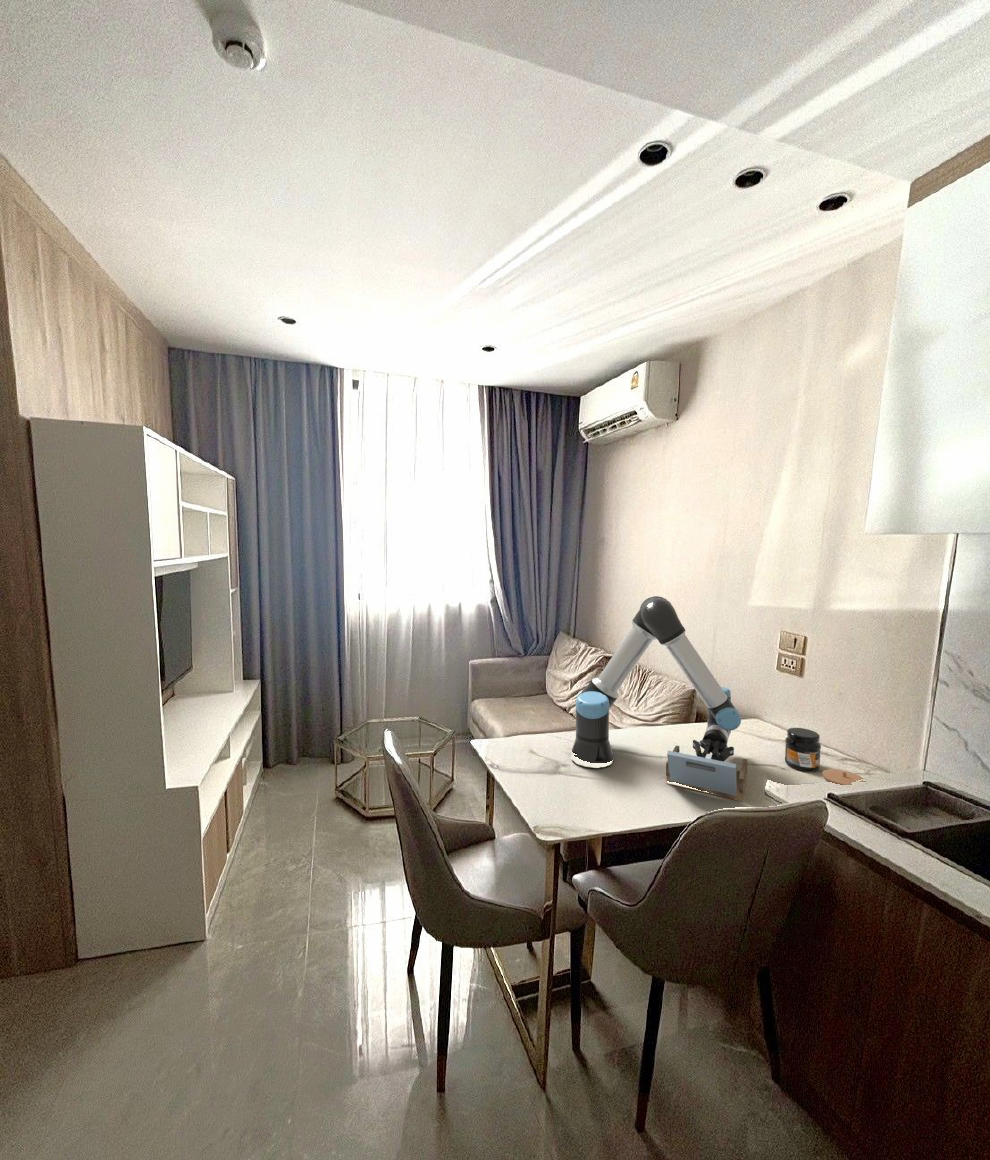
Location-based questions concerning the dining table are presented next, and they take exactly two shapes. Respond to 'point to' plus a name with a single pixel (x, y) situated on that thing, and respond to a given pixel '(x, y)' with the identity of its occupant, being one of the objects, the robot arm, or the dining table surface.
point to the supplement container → (802, 749)
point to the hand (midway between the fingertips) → (706, 766)
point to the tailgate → (702, 772)
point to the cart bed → (739, 796)
